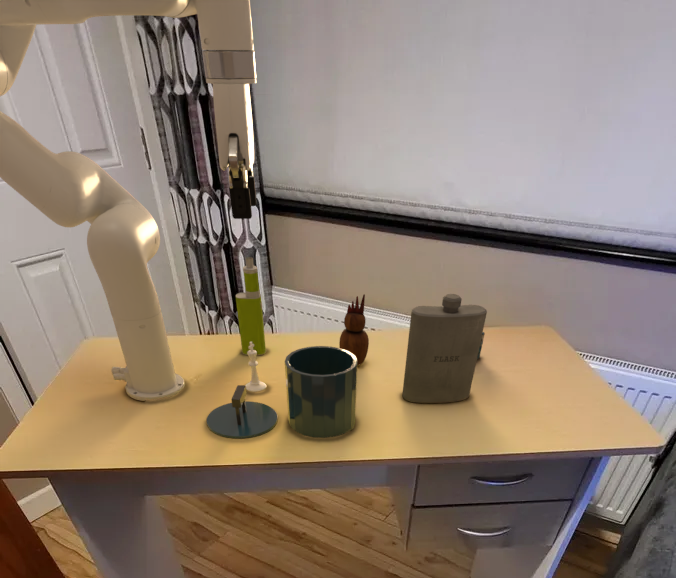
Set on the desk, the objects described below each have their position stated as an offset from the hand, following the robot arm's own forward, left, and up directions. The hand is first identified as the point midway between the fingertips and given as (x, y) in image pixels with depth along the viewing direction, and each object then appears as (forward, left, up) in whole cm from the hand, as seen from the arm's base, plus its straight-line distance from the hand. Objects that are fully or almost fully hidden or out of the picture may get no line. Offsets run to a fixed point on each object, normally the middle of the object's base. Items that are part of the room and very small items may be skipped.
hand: (245, 211), depth 88 cm
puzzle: (+46, +23, -33) cm, 61 cm away
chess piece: (-2, +2, -33) cm, 33 cm away
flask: (+38, +2, -33) cm, 50 cm away
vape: (-6, +22, -33) cm, 39 cm away
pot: (+14, -12, -32) cm, 37 cm away
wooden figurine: (+19, +18, -33) cm, 42 cm away
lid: (-2, -13, -32) cm, 34 cm away
